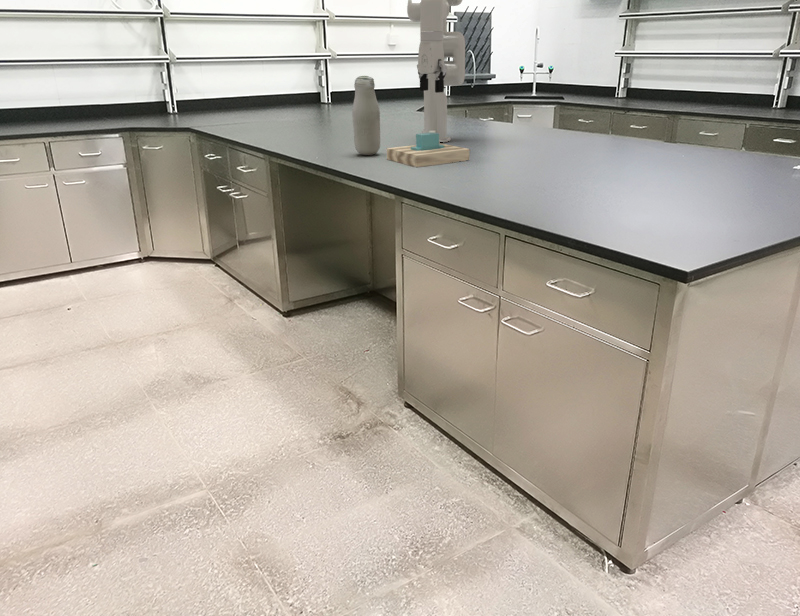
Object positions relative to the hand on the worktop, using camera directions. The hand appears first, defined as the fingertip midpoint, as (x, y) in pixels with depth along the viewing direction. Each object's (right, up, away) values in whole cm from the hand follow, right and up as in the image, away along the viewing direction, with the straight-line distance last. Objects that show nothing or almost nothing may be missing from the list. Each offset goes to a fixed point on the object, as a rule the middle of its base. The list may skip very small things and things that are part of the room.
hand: (431, 91), depth 217 cm
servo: (-1, -22, +6) cm, 23 cm away
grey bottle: (-23, -18, +19) cm, 35 cm away
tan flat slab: (-1, -22, +6) cm, 23 cm away
